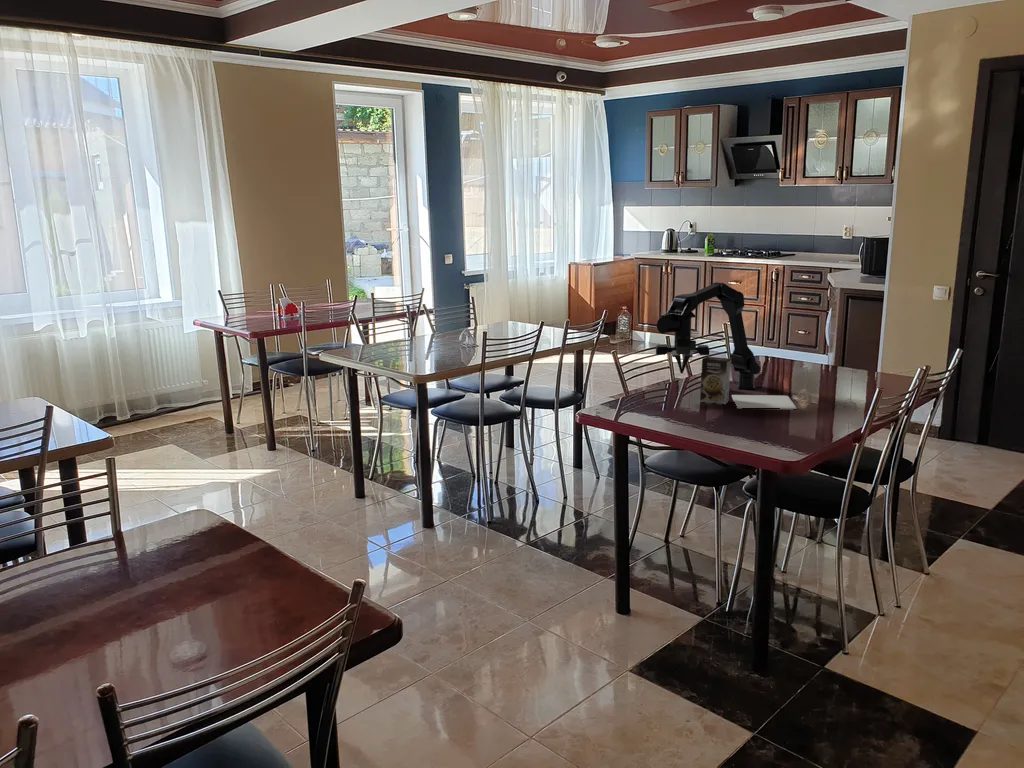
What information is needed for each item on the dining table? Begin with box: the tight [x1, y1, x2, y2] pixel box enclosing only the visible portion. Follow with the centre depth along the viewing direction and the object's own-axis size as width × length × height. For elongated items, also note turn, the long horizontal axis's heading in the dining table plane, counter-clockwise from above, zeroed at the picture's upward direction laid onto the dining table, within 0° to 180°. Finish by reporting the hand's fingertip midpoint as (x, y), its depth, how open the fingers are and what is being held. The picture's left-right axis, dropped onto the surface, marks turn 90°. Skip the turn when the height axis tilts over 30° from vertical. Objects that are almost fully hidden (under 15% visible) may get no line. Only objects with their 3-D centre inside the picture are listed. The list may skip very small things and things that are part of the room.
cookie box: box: [700, 356, 731, 406], centre depth 286 cm, size 9×6×16 cm
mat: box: [731, 394, 797, 410], centre depth 284 cm, size 18×20×1 cm
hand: (681, 373), depth 287 cm, fingers closed
